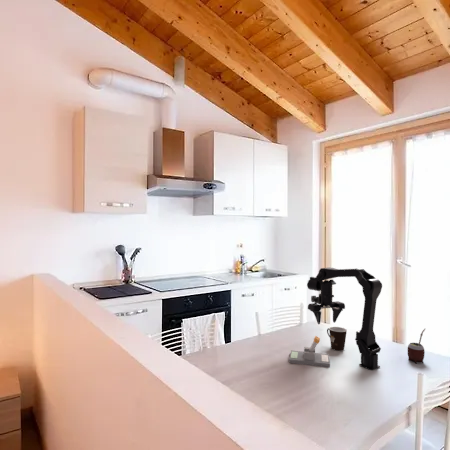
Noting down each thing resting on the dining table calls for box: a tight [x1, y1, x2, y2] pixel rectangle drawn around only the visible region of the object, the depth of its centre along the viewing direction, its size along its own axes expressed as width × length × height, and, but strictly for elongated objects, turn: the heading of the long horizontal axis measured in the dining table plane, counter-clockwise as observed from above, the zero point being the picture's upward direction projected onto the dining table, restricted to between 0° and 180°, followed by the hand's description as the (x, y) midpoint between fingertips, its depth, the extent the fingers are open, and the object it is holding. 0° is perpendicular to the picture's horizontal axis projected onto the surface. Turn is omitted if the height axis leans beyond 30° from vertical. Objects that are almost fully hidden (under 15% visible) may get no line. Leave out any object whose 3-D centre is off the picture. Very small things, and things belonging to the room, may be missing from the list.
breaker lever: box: [308, 335, 321, 352], centre depth 165 cm, size 2×4×10 cm, turn 165°
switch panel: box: [288, 346, 331, 368], centre depth 165 cm, size 18×12×4 cm, turn 75°
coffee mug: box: [326, 326, 347, 352], centre depth 182 cm, size 12×9×10 cm
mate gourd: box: [407, 328, 426, 364], centre depth 166 cm, size 8×8×15 cm
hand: (326, 323), depth 178 cm, fingers open, 9 cm apart
